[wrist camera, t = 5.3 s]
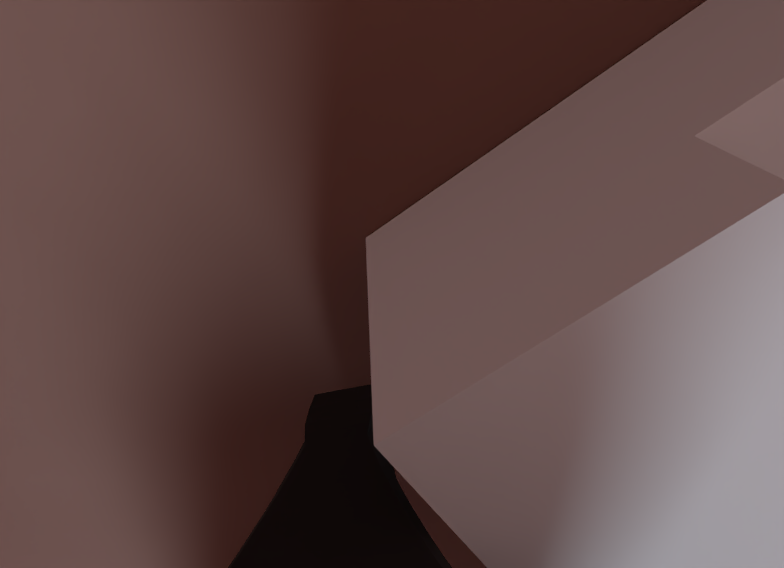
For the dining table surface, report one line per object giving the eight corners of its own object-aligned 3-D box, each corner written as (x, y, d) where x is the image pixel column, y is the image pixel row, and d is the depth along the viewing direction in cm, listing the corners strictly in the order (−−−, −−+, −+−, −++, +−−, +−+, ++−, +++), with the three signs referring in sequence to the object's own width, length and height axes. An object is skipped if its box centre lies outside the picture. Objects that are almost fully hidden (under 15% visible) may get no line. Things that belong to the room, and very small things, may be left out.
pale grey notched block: (964, 226, 10) (1408, 411, 6) (545, 465, 11) (655, 749, 7) (849, -99, 8) (1380, -175, 4) (365, 237, 9) (373, 445, 5)
